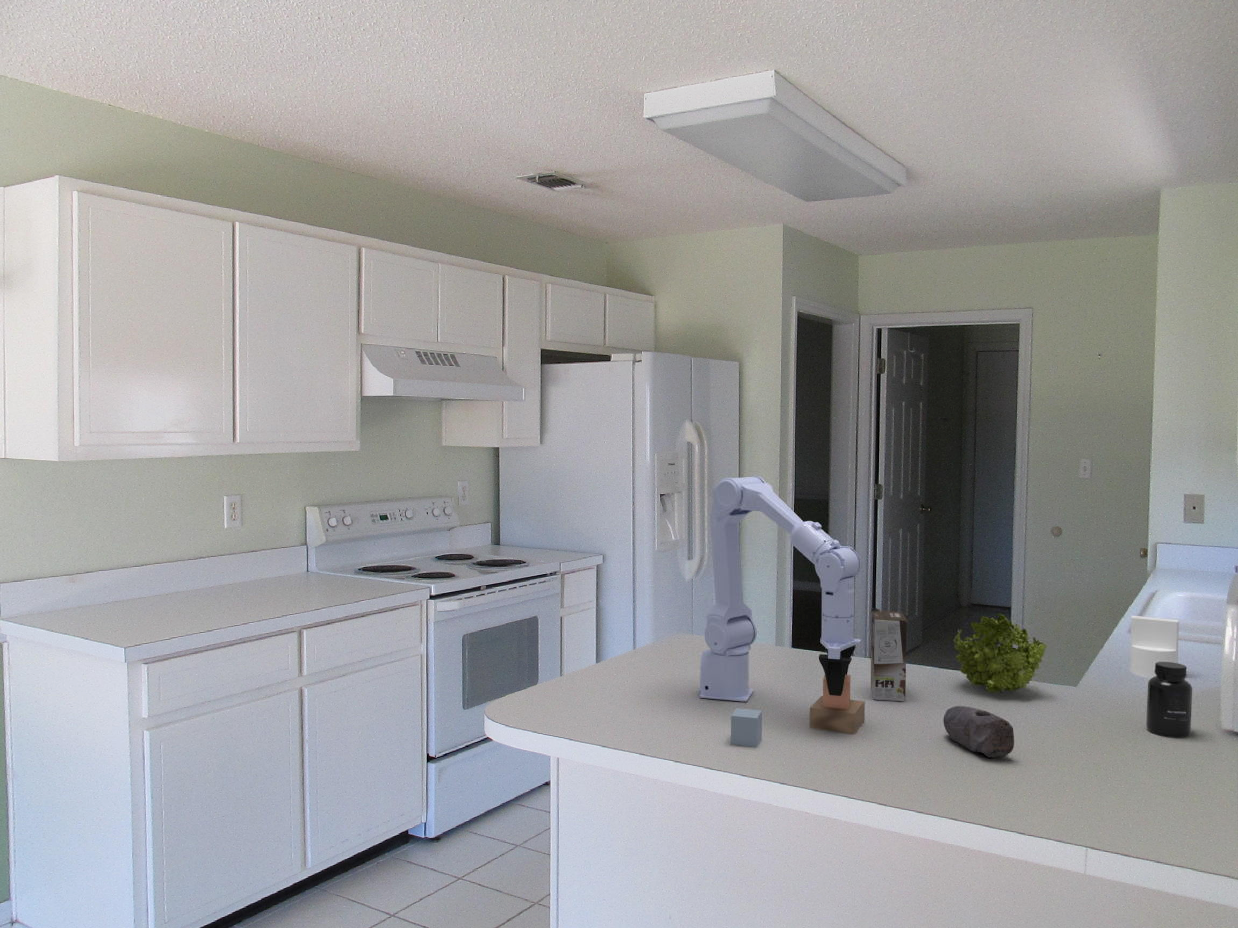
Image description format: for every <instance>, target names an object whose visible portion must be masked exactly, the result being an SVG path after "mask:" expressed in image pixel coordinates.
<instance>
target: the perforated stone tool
mask: <svg viewBox="0 0 1238 928" xmlns="http://www.w3.org/2000/svg"><path fill="white" fill-rule="evenodd" d="M942 721H943V722H942V723H943V727H944V730H945V731H946V733H947V734H948V736H949V737H950V739H952V740H953V742H958V743H959V744H960V745H961V746H963V747H964V748H966V749H968V750H970V751H971V752H973V753H979V752H980V753H983V754H984V755H985V757H989V758H996V757H999V758H1000V757H1001V758H1003V757H1006V756H1008V755H1009V754H1011V752H1012V751H1013V750H1014V747H1015V735H1014V734H1015V733H1014V727H1013V725H1011V723H1010V722H1009V721H1007V720H1006V719H1004V718H1002V717H1000V716H998V715H996V714H995V713H992V712H990V711H986V710H983V709H980V708H976V707H971V706H964V705H962V706H961V705H959V706H957V705H956V706H952V707H950V708H948V709H947V710H946V711H945V713H944V716H943V720H942Z"/></svg>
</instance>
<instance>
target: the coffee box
mask: <svg viewBox="0 0 1238 928" xmlns="http://www.w3.org/2000/svg"><path fill="white" fill-rule="evenodd" d="M870 613H871V614H870V689H871V695H872V699H873V700H876V701H893V702H906V689H907V687H906V685H907V683H906V681H907V679H906V677H907V629H908V628H907V627H908V626H907V623H908V620H907V619H906V616H905V615H904V613H903V611H891V610H890V611H889V610H887V611H870Z"/></svg>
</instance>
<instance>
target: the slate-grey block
mask: <svg viewBox="0 0 1238 928" xmlns="http://www.w3.org/2000/svg"><path fill="white" fill-rule="evenodd" d="M762 721H763V710H760V709H749V708H739V707H736V708H735V709H734V710H733V712H732V714H731V715H730V745H734V746H743V747H751V746H755V747H754V748H758V747H759V744H760V742H761V741H762V740H763V739H762V738H763V735H762V734H763V733H762V732H763V727H762V726H763V723H762ZM757 746H758V747H757Z"/></svg>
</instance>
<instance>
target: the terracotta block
mask: <svg viewBox="0 0 1238 928" xmlns="http://www.w3.org/2000/svg"><path fill="white" fill-rule="evenodd" d="M822 696H823V707H828V708H840V709H849V705H850V700H851V674H847V675H845V680H844V686H843V691H842V695H841V696H835V695H829V692H828V687H827V682H826V676H825V675H824V676H823V679H822Z"/></svg>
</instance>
